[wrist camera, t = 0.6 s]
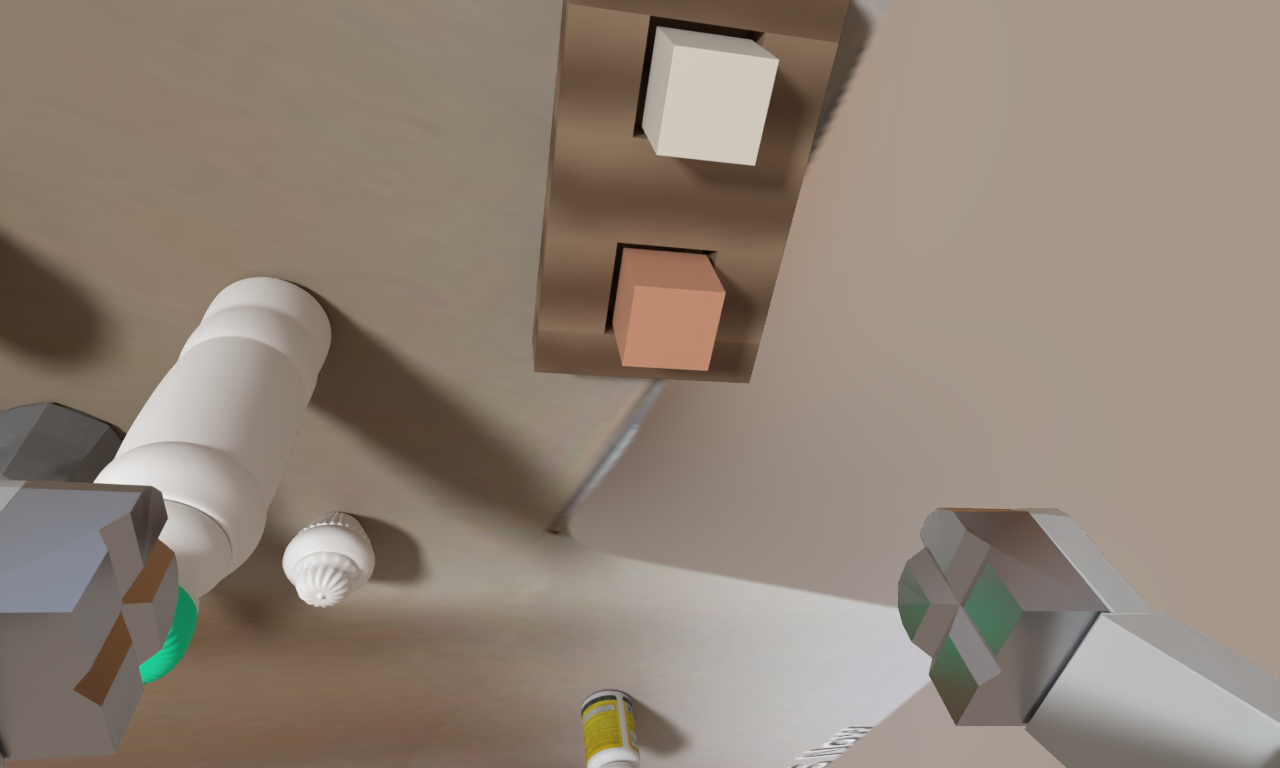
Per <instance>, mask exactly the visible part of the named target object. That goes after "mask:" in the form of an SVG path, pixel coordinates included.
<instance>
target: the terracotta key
mask: <svg viewBox="0 0 1280 768" xmlns="http://www.w3.org/2000/svg"><path fill="white" fill-rule="evenodd" d="M725 294H726V292H725V290H724V288H723V286H722V284H721V282H720V280H719V278H718V277H717V275H716V273H715V271H714V269H713V267H712V265H711V263H710V261H709V259H708V257H707V255H702V254H691V253H679V252H667V251H655V250H644V249H632V248H624V249H623V255H622V262H621V269H620V275H619V282H618V289H617V295H616V302H615V309H614V315H613V322H612V324H613V328H614V333H615V337H616V341H617V346H618V350H619V354H620V358H621V363H622V366H631V367H649V368H667V369H685V370H703V371H708V368H709V363H710V359H711V355H712V350H713V346H714V342H715V337H716V333H717V329H718V324H719V320H720V316H721V311H722V307H723V302H724V298H725Z"/></svg>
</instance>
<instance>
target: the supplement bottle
mask: <svg viewBox="0 0 1280 768" xmlns="http://www.w3.org/2000/svg"><path fill="white" fill-rule="evenodd" d="M582 723H583V733H584V744H585V754H586V764H587V768H639V765H640V754H639V748H638V742H637V736H636V729H635V723H634V717H633V711H632V704H631V701H630V699H629V697H628V696H627V695H626V694H624V693H622V692H619V691H611V690H608V691H601V692H598V693H595V694H593V695H591V696H590V697H588V698H587V699H586V700H585V702H584V703H583V705H582Z"/></svg>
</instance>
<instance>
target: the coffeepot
mask: <svg viewBox="0 0 1280 768" xmlns="http://www.w3.org/2000/svg"><path fill="white" fill-rule="evenodd" d="M122 442H123V440H122V439H121V438H120V437H119V435H118V434H117V433H116V432H114V431H113V430H112V428H111V427H110V426H109V425H108V424H106V423H104V422H102V421H100V420H99V419H97V418H95V417H93V416H91V415H88V414H86V413H84V412H82V411H79V410H75V409H72V408H69V407H65V406H59V405H54V404H52V403H49V402H48V403H39V404H31V405H23V406H19V407H16V408H12V409H9V410H7V411H3V412H0V480H20V481H32V482H34V481H36V480H40V481H61V482H81V483H93V482H94V481H95V479H96V478H97V476H98V475H99V474H100V472H101V471H102V470H103V469H104V468H105V467H106V466H107V465H108V464H109V463H110V462H111V461H113V460H114V458H115V456H116V454H117V452H118V450H119V448H120V446H121V444H122Z"/></svg>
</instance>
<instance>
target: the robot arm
mask: <svg viewBox="0 0 1280 768" xmlns="http://www.w3.org/2000/svg"><path fill="white" fill-rule="evenodd" d="M167 520H168V516H167V512H166V507H165V503H164V499H163V495H162V492H161V491H159V490H158V489H156V488H155V487H153V486H143V485H123V484H102V483H81V482H61V481H40V480H36V481H34V482H32V481H20V480H0V768H5V762H4V761H12V760H29V759H45V758H62V757H79V756H96V755H113V754H116V752H117V750H118V747H119V745H120V743H121V741H122V738H123V736H124V734H125V732H126V729H127V727H128V725H129V723H130V721H131V718H132V716H133V714H134V712H135V709H136V707H137V705H138V703H139V700H140V698H141V696H142V694H143V691H144V686H143V682H142V678H141V674H140V670H139V666H140V665H141V664H143V663H144V662H146V661H147V660H148V659H150V658H151V657H152V656H154V655H155V654H156V653H158V652H159V651H160V650H162V648H163V645H164V643H165V641H166V638H167V636H168V633H169V631H170V628H171V626H172V623H173V618H174V614H175V609H176V604H177V599H178V594H179V590H178V566H177V561H176V555H175V552H174V551H173V550H171V549H170V548H169V547H168V546H167V545H165V544H164V543H163V542H162V541H161V540H159V539H158V537H159V535H160V533H161V532H162V530H163V528H164V526H165V524H166V522H167ZM920 536H921V539H922V541H923V544H924V546H925V548H924V549H923V550H921V551H920V552H919V553H917V554H916V555H915V556H913V557H912V558H911V559H910V560H908V561H907V562H906V565H905V567H904V570H903V573H902V575H901V577H900V580H899V582H898V608H899V612H900V616H901V620H902V624H903V626H904V628H905V630H906V632H907V634H908V636H909V638H910V640H911V641H912V642H913V643H914V644H915V645H916V646H918V647H919V648H920V649H922V650H923V651H924V652H925V653H927V654H928V655H929V656H931V657H932V662H931V667H930V671H929V676H930V678H931V680H932V681H933V683H934V685H935V687H936V689H937V691H938V693H939V694H940V696H941V698H942V700H943V702H944V704H945V706H946V708H947V710H948V711H949V713H950V715H951V717H952V719H953V720H954V723H955V724H956V726H1027V727H1026V728H1025V730H1026V731H1027V732H1028V733H1029V734H1030V735H1031V736H1032V737H1033V738H1035V739H1036V740H1037V741H1038V742H1039V743H1040V744H1041V745H1042V746H1043V747H1045V748H1046V749H1047V750H1048V751H1049V752H1050V753H1051V754H1052V755H1053V756H1054V757H1055V758H1056V759H1058V760H1059V761H1060V762H1061V763H1062V764H1063V765H1064V766H1065V767H1066V768H1280V679H1278V678H1276V677H1275V676H1273V675H1271V674H1270V673H1268V672H1266V671H1264V670H1263V669H1261V668H1259V667H1258V666H1256V665H1254V664H1253V663H1251V662H1249V661H1248V660H1246V659H1244V658H1242V657H1241V656H1239V655H1237V654H1236V653H1234V652H1232V651H1231V650H1229V649H1227V648H1225V647H1224V646H1222V645H1220V644H1219V643H1217V642H1215V641H1214V640H1212V639H1210V638H1208V637H1207V636H1205V635H1203V634H1202V633H1200V632H1198V631H1197V630H1195V629H1193V628H1191V627H1190V626H1188V625H1186V624H1185V623H1183V622H1181V621H1179V620H1178V619H1176V618H1174V617H1173V616H1171V615H1169V614H1168V613H1155V612H1154V611H1153V610H1152V609H1151V608H1150V607H1149V605H1148V604H1147V603H1146V602H1145V601H1144V600H1143V599H1142V597H1140V595H1139V594H1138V593H1137V592H1136V591H1135V590H1134V588H1133V587H1132V586H1131V585H1130V584H1129V583H1128V582H1127V580H1126V579H1125V578H1124V577H1123V576H1122V575H1121V574H1120V572H1119V571H1118V570H1117V569H1116V568H1115V567H1114V566H1113V565H1112V563H1111V562H1110V561H1109V560H1108V559H1107V558H1106V557H1105V555H1104V554H1103V553H1102V552H1101V551H1100V550H1099V549H1098V547H1097V546H1096V545H1095V544H1094V543H1093V542H1092V541H1091V539H1090V538H1089V537H1088V536H1087V535H1086V534H1085V533H1084V532H1083V530H1082V529H1081V528H1080V527H1079V526H1078V525H1077V524H1076V522H1075V521H1074V520H1073V519H1072V518H1071V517H1070V516H1068V515H1067V514H1065V513H1063V512H1061V511H1059V510H1057V509H1015V510H1011V509H972V508H937V509H936V510H935V511H934V512H933V513H931V515H929V516H928V517H927V519H926V521H925V523H924V526H923V527H922V529H921V531H920Z"/></svg>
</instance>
